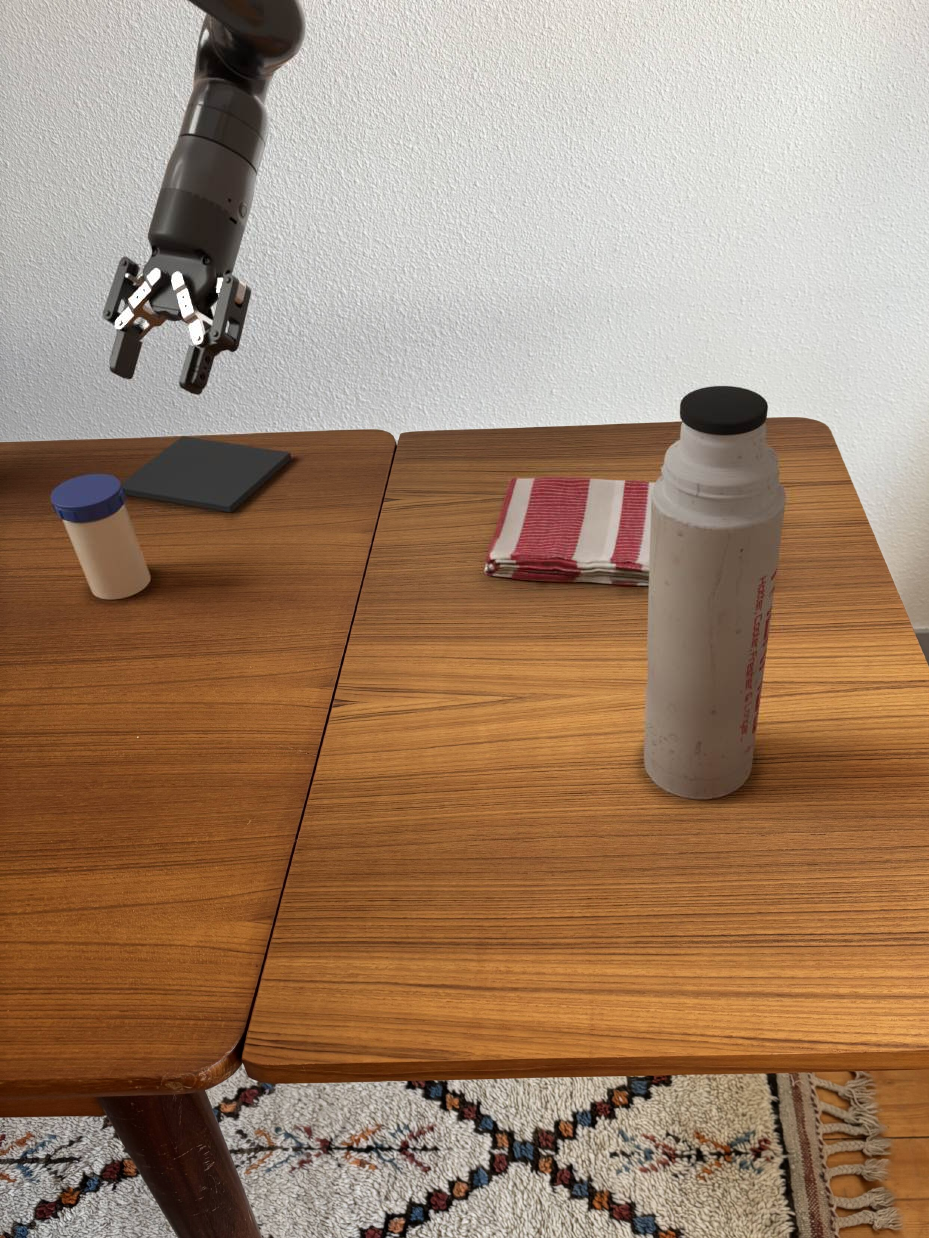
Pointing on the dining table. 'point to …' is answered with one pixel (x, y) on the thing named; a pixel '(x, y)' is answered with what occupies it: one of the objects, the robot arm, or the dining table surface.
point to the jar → (110, 555)
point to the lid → (88, 498)
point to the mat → (205, 474)
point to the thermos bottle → (711, 593)
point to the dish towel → (573, 531)
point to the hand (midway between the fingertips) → (154, 383)
